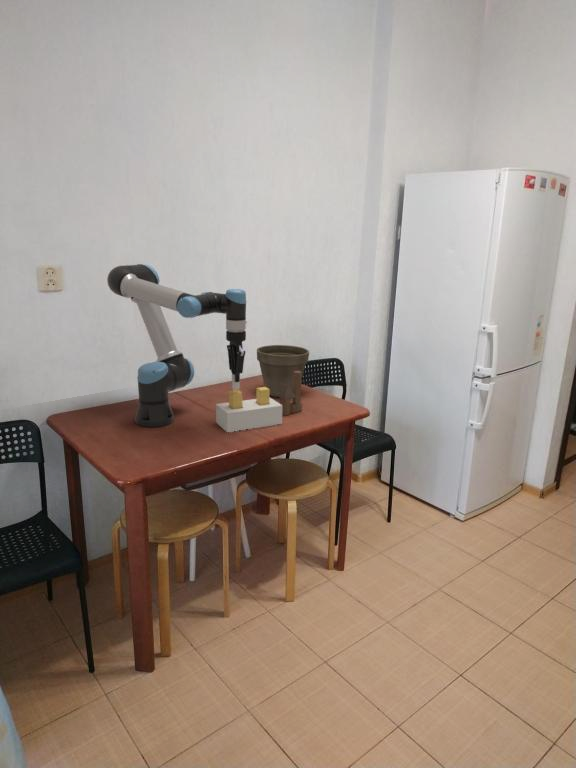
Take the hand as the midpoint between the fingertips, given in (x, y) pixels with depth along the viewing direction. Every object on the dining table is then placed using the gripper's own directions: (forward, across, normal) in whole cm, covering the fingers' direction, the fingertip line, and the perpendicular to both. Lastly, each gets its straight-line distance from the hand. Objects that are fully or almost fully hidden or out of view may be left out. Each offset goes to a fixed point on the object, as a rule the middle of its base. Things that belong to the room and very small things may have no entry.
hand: (235, 389), depth 212 cm
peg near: (+9, 0, 0) cm, 9 cm away
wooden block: (+16, +5, -28) cm, 32 cm away
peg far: (+9, 0, -12) cm, 15 cm away
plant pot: (+16, +32, -38) cm, 52 cm away
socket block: (+15, 0, -6) cm, 17 cm away
